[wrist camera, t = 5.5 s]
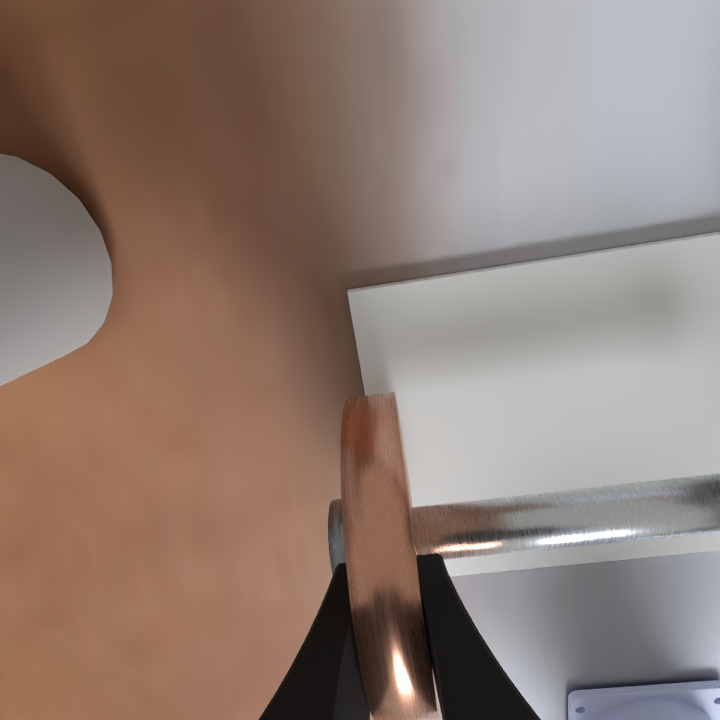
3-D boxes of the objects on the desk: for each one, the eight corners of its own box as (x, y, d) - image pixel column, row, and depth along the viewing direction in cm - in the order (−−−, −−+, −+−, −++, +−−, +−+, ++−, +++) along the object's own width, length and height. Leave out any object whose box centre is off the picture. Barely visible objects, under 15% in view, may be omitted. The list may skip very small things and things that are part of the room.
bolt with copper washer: (726, 511, 18) (1033, 778, 10) (363, 548, 19) (353, 812, 11) (754, 302, 15) (1230, 420, 7) (325, 363, 17) (273, 526, 8)
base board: (987, 513, 19) (1006, 523, 18) (396, 571, 21) (397, 581, 21) (1117, 169, 14) (1147, 167, 14) (348, 289, 17) (347, 292, 16)
